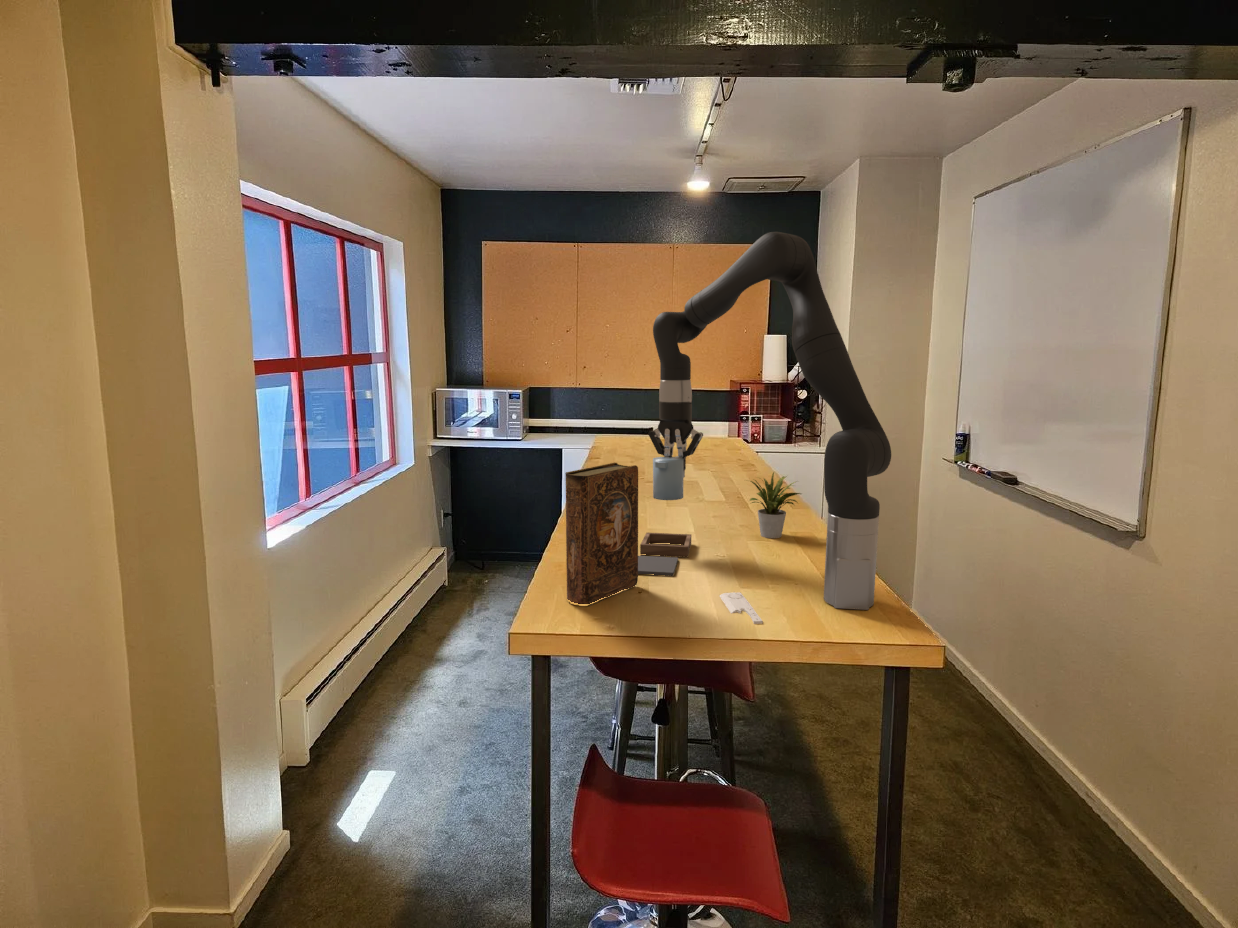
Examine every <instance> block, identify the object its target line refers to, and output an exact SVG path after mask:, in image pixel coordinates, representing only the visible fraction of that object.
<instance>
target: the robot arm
mask: <svg viewBox="0 0 1238 928" xmlns="http://www.w3.org/2000/svg"><path fill="white" fill-rule="evenodd" d="M815 261H816V260H815V258H814V254H813V252H812V249H811V248H810V245H809V243H808V241H806V240H805V239H804V238H802V237H801V236H799V235H796V234H792V233H786V232H780V231H771V232H770V231H768V232H766V233H765V234H763V235H762V236H760V237H759V238H758V239H756V240H755V242H754V243H753V244H751V245H750V246H749V248H748V249H746V250H745V251H744V253H743V254H742V255H740V256H739V258H738V259H736V261H735V262H734V263H733V264H732V265H730V267H728V268H727V269H726V271H724V272H723V273H722V274H721V275H720V276H719V277H717V278H716V279H715V280H714V281H712V282H711V283H710V284H708V285H707V286H706V287H704V288H702V289H701V290H700V291H699V292H697V293H695V294H694V295H693V296H692V297H691V298H689V299H688V300H687V301H686V302H685V305H684V310H683V311H663V312H661V313H659V314H658V315H657V316H656V318H655V319H654V322H653V326H652V334H653V340H654V343H655V347H656V353H657V355H658V358H659V359H658V360H659V362H660V363H659V364H660V366H659V367H660V369H659V370H660V371H659V373H660V374H659V375H660V381H659V382H660V383H659V393H658V396H659V397H658V400H659V401H658V402H659V404H658V405H659V406H658V408H659V409H658V410H659V413H658V414H659V416H658V417H659V422H658V426H657V428H655V429H653V430H650V431H648V434H647V435H648V437H649V438H650V441H651V442H652V445H653V447H654V449H655V450H656V452H657V454H658V455H661V456H662V457H673V455H674V446H675V444H676V449H677V456H678V457H680V458H683V471H686V467H687V466H686V465H687V463H686V462H687V460H686V459H687V457H689V456H692V455H694V454H695V452H696V450H697V448H698V446H699V444H700V442H701V440H702V439H703V436H704V432H699V431H698V430H696V429H695V428H694V425H693V423H692V418H693V417H692V416H693V415H692V414H693V413H692V410H693V409H692V408H693V404H692V401H693V394H692V393H693V392H692V391H693V390H692V382H691V373H692V371H691V369H692V368H691V366H692V365H691V363H692V362H691V358H690V356H689V355H687V354H684V353H682V352H681V350H680V348H679V344H685V343H689V342H691V341H693V340H694V339H697V337H698V336H699V335H700V334H702V332H703V331H704V330H705V329H706V328H707V326H708V325H709V324H711V323H713V322H714V321H716V320H718V319H720V318H721V317H723V316H724V315H725V314H727V313H728V312H729V311H730V310H731V309H732V308H733V307H734V305H735V304H736V302H737V300H738V299H739V297H740V296H741V295H742V294H743V292H744V291H746V290H747V289H749V288H750V287H752V286H755V285H756V284H758V283H761V282H763V281H766V280H767V281H768V280H769V281H774V282H780V283H781V284H782V286H783V287H784V290H785V291H786V294H787V296H788V299H789V302H790V304H791V307H792V313H793V317H792V318H793V319H792V327H791V345H792V349H793V352H794V356H795V359H796V360H797V363H798V366H799V368H800V370H801V373H802V375H803V377H804V378H805V380H806V381H807V382H808V384H809V385H810V386H811V387H812V388H813V390H814V391H815V392H816V393H817V394H818V395H819V396H820V397H821V398H822V399H823V401H824V402H825V403H826V404H827V405H828V406H829V407H830V408H831V410H832V411H833V412H834V414H835V416H836V418H837V420H838V422H839V425H840V427H841V430H839V431H836V432H835V433H833V435H832V436H830V438H829V439H828V441H827V443H826V446H825V451H824V460H823V461H824V462H823V464H824V466H823V467H824V469H823V470H824V473H823V474H824V476H823V477H824V478H823V479H824V481H823V482H824V486H823V489H824V491H823V492H824V496H825V500H826V503H827V525H826V540H825V541H826V544H825V546H826V547H825V561H824V581H823V582H824V585H823V601H825V603H827V604H828V605H831V606H833V607H834V609H842V610H843V609H845V610H846V609H847V610H861V611H864V610H866V611H869V609H870V608H871V607H872V606H874V604H875V592H876V591H875V590H876V589H875V588H876V587H875V586H876V568H877V557H878V553H877V552H878V538H879V537H878V536H879V523H880V522H879V521H880V508H881V507H880V502H879V500H878V498H876V497H874V496H871V495H870V494H869V492H868V478H869V477H874V476H878V475H881V474H883V473H884V472H885V471H887V469H888V468H889V466H890V465H891V461H892V448H891V444H890V441H889V438H888V436H887V434H886V432H885V429H884V428H883V426H882V425H881V423H880V421H879V419H878V417H877V415H876V413H875V411H874V410H873V408H872V406H871V404H870V402H869V400H868V398H867V396H866V393H865V391H864V389H863V386H862V384H861V381H860V379H859V377H858V375H857V373H856V369H855V367H854V365H853V363H852V359H851V357H850V354H849V351H848V349H847V346H846V344H845V342H844V339H843V336H842V333H841V332H840V330H839V328H838V325H837V324H836V320H835V318H834V315H833V313H832V310H831V308H830V305H829V303H828V299H826V295H825V293H824V290H823V287H822V284H821V280H820V277H819V272H818V268H817V265H816V262H815ZM690 436H691V437H690ZM660 437H662V438H663V439H664V443H663V442H662V439H661V438H660ZM689 437H690V438H691V442H690V444H689V445H688V444H687V440H688V439H689ZM687 446H688V447H687Z"/></svg>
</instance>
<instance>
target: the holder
mask: <svg viewBox="0 0 1238 928" xmlns="http://www.w3.org/2000/svg"><path fill="white" fill-rule="evenodd" d="M649 543H670V544H681V545H668V544H649ZM691 546H692V534H690V533H689V534H687V533H685V534H684V533H666V532H646V533H645V535H644V537H643V539H642V541H641V543H640V546H639V549H640V550H639V552H640V553H639V555H640V554H646V555H660V556H659V557H666V556H671V557H676V558H689V555H690V552H691V551H690V550H691Z"/></svg>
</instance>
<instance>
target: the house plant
mask: <svg viewBox="0 0 1238 928" xmlns="http://www.w3.org/2000/svg"><path fill="white" fill-rule="evenodd" d="M774 476H775V471H773V472H772V474H771V477H770V483H769V482H768V480H767V479H766V478H763V480H762V478H760V480H762V482H764V486H765V488H764V487H763V488H762V486H761V484H760V483H759V482H758V481H757V480H756V479H754V481H755V482H754V481H752V480H748V479H745V481H747V482H750V483H751V484H753V485H754V486H755V488H756V489H758V491H759V492H756V495H758V496H759V497H760V498H761V499H762V500H763V502H762V501H760V500H759V499H758V498H755V497H751V498H749V500H748V502H750V503H749V504H753V503H756V504H757V503H758V504H759V505H760V504H761V505H762V507H763V508H760V509H758V510H757V516H758V524H759V533H760V536H761V537H763V538H765V539H778V538H779V539H780V538H781V537H782V535H783V531H784V530H783V529H784V527H785V526H784V525H785V520H786V515H787V512H786V511H785V510H783V509H781V508H782V507H783V506H785V505H786V504H791V505H793V506H795V504H794V502H795V503H797V504H799V502H798V501H797V500H796V499H791V498H789V497H793V496H796V495H802V493H801V492H789V493H787V492H786V493H784V492H785V491H787V490H788V489H789V490H790V489H791V488H790V487H795V485H793V484H795V483H797V482H799V481H798V480H797V481H794V482H791V483H790V484H788V485H787V486H783V482H784V480H785V479H786V478H788V477H787V476H788V475H787V476H782V477H781V478H779V479H778V481H777V483H776V484H774V483H775V482H774V478H775V477H774ZM756 478H757V479H759V477H756ZM774 485H775V486H774ZM782 486H783V487H782ZM751 501H752V502H751Z"/></svg>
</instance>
